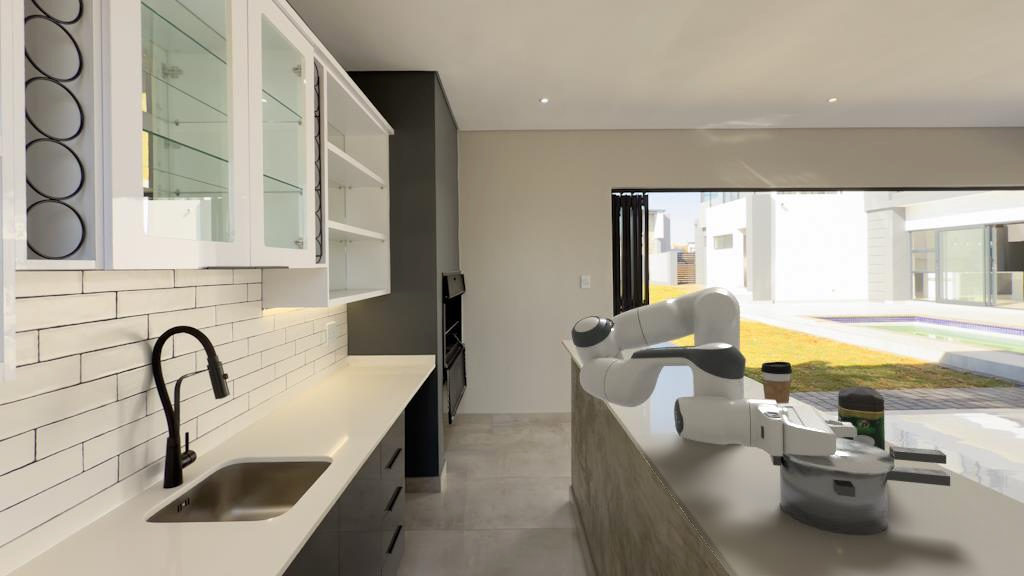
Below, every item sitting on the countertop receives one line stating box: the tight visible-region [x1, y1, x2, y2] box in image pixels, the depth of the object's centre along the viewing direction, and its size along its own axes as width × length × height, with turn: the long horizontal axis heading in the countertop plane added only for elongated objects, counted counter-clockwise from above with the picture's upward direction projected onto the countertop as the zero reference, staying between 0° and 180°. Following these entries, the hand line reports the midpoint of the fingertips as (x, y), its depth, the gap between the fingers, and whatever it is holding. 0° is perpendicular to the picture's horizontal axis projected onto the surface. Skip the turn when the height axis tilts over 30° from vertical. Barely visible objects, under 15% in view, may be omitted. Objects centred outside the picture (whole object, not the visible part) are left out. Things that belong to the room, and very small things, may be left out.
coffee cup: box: [760, 361, 793, 404], centre depth 154 cm, size 8×8×15 cm
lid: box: [783, 438, 947, 475], centre depth 88 cm, size 17×24×2 cm
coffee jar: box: [837, 385, 886, 451], centre depth 104 cm, size 10×8×19 cm
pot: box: [769, 454, 951, 536], centre depth 89 cm, size 22×26×10 cm
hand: (854, 430), depth 88 cm, fingers closed
